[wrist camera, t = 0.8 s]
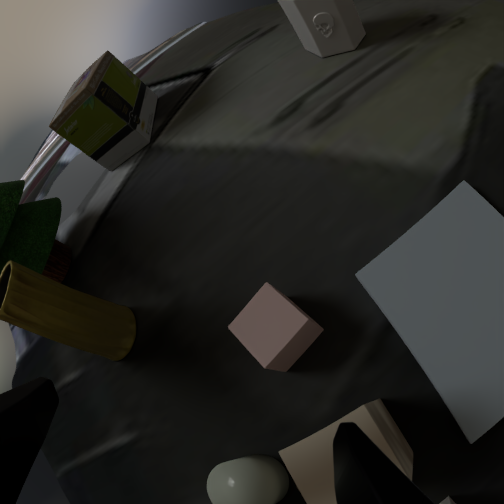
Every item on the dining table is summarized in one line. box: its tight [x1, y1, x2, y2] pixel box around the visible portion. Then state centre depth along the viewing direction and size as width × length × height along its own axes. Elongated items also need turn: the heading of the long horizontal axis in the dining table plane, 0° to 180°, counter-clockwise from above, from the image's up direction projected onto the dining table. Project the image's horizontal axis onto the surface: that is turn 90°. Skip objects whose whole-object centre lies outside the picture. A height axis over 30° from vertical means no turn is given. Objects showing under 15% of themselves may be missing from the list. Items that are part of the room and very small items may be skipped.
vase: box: [0, 260, 136, 361], centre depth 25 cm, size 6×6×14 cm
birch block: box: [279, 399, 413, 504], centre depth 13 cm, size 4×4×7 cm
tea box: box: [49, 51, 158, 171], centre depth 44 cm, size 15×10×15 cm
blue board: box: [355, 180, 504, 444], centre depth 15 cm, size 14×11×1 cm
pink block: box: [228, 282, 324, 372], centre depth 21 cm, size 4×4×4 cm
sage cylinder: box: [207, 454, 289, 504], centre depth 16 cm, size 4×4×4 cm
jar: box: [278, 0, 366, 58], centre depth 29 cm, size 9×8×12 cm
